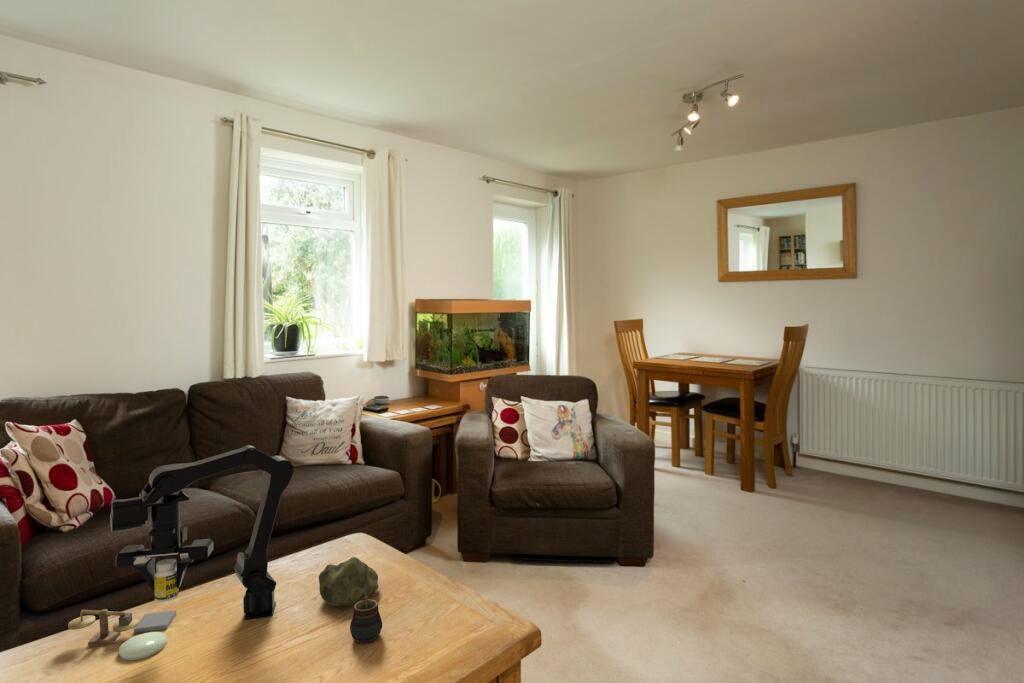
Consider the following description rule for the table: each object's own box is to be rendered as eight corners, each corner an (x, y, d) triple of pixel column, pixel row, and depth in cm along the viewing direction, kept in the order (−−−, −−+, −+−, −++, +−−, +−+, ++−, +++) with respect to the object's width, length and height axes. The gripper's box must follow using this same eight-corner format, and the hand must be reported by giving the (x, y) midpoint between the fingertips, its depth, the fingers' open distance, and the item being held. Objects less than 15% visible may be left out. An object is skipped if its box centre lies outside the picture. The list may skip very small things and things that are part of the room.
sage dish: (172, 634, 133) (171, 629, 133) (158, 656, 124) (158, 651, 124) (128, 640, 130) (128, 635, 130) (111, 663, 122) (111, 657, 122)
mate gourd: (353, 650, 126) (352, 607, 125) (347, 634, 132) (346, 592, 132) (385, 641, 129) (384, 599, 129) (377, 626, 136) (376, 585, 135)
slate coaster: (176, 613, 142) (176, 609, 142) (167, 628, 135) (166, 624, 135) (145, 617, 140) (145, 613, 140) (134, 633, 133) (133, 628, 133)
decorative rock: (387, 605, 149) (390, 569, 148) (327, 619, 140) (330, 581, 139) (368, 578, 161) (371, 544, 160) (311, 589, 152) (314, 554, 151)
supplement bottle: (167, 603, 127) (166, 567, 126) (149, 601, 127) (148, 565, 127) (183, 593, 131) (182, 558, 131) (166, 591, 132) (165, 556, 132)
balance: (142, 629, 135) (141, 598, 134) (134, 641, 130) (132, 608, 129) (75, 638, 131) (74, 606, 131) (64, 650, 126) (62, 617, 126)
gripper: (218, 507, 139) (219, 569, 139) (133, 513, 134) (134, 577, 135) (206, 523, 128) (207, 590, 129) (113, 530, 123) (114, 600, 124)
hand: (166, 588), depth 129 cm, fingers closed on supplement bottle, 5 cm apart
